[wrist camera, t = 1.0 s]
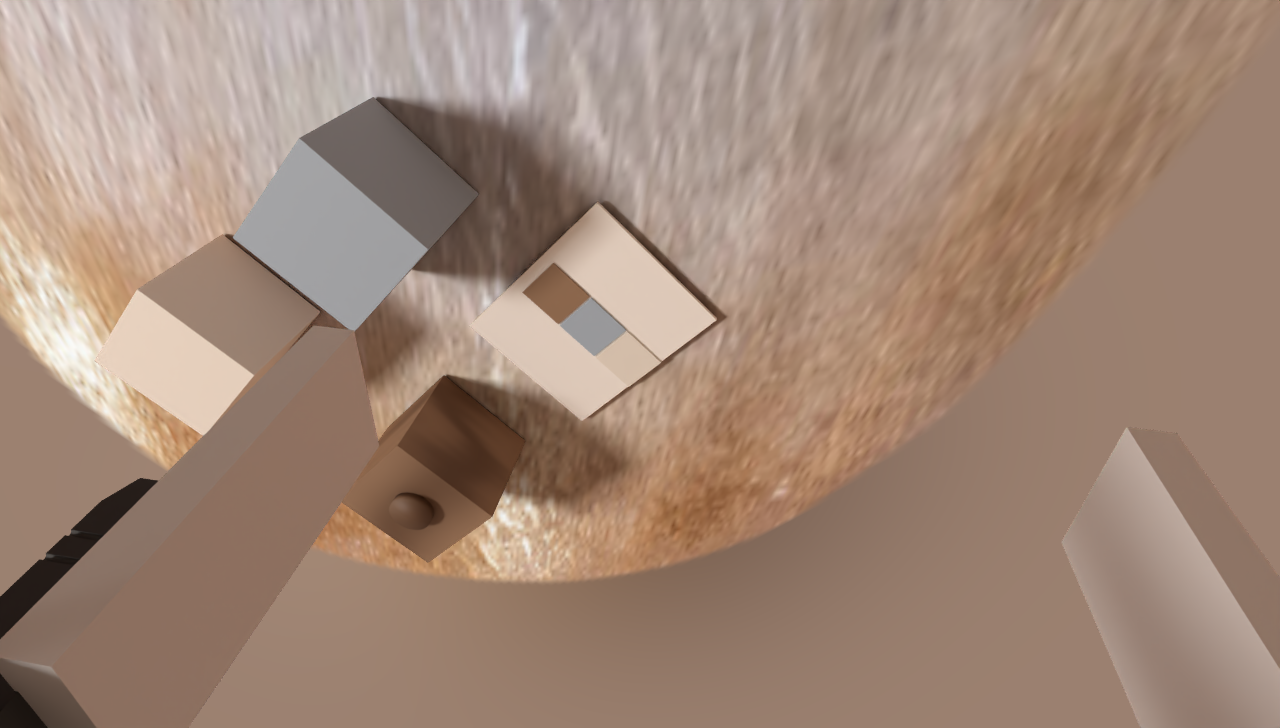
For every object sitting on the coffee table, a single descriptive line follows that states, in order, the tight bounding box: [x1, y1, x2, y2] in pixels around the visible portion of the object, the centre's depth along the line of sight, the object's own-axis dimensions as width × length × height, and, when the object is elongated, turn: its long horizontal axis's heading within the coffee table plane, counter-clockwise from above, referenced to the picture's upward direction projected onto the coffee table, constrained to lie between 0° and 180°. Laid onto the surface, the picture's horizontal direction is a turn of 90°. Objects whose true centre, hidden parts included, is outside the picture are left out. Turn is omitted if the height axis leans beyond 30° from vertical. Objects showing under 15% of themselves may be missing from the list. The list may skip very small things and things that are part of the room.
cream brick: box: [95, 234, 320, 436], centre depth 37 cm, size 6×6×6 cm
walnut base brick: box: [342, 376, 525, 562], centre depth 39 cm, size 6×6×6 cm
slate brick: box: [233, 97, 479, 332], centre depth 31 cm, size 6×6×6 cm
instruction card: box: [470, 202, 717, 421], centre depth 36 cm, size 8×10×1 cm
